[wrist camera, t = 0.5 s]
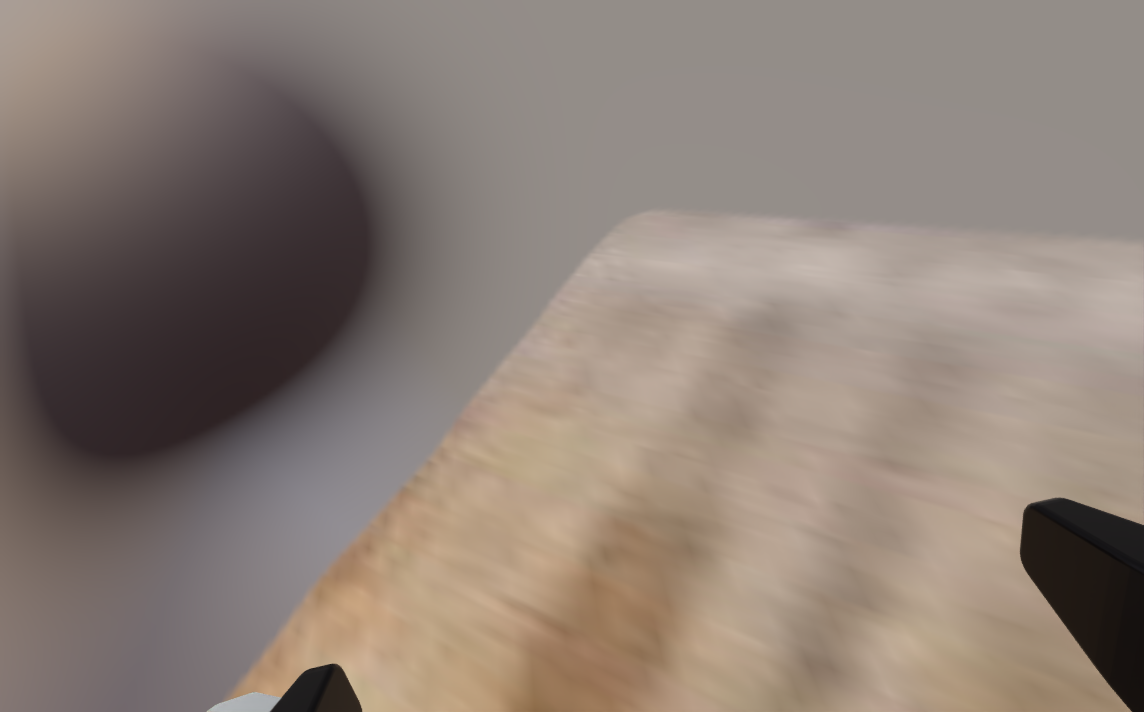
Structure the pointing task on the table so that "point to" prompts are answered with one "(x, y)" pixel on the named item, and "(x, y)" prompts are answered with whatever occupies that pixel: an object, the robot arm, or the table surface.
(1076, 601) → the robot arm
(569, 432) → the table surface
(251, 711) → the white cup
